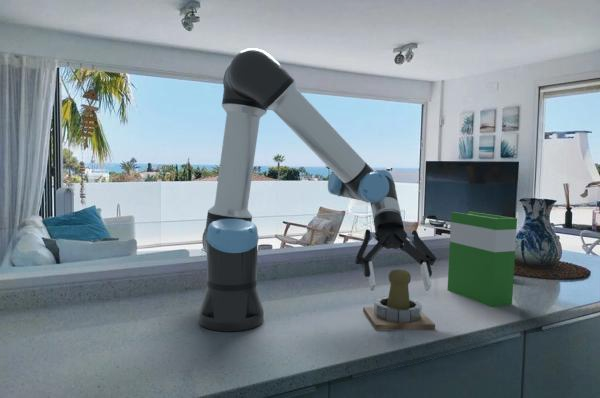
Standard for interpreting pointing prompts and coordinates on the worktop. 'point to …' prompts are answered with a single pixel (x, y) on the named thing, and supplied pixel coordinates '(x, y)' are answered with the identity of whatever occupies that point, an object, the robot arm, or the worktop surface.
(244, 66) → the robot arm
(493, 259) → the cereal box
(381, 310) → the steel collar
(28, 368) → the worktop surface
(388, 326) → the walnut board
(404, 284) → the cork
